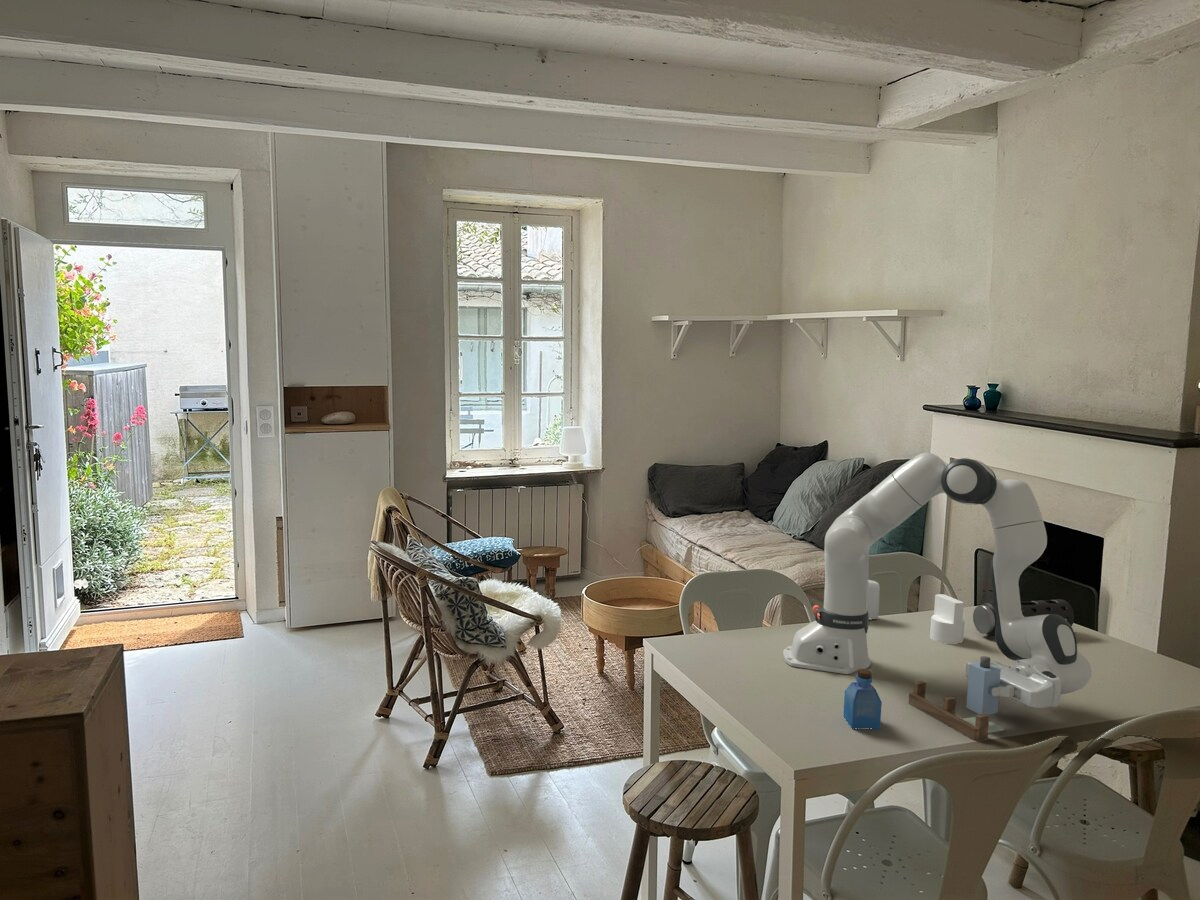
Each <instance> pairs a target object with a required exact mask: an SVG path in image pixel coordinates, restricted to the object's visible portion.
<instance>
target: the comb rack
mask: <svg viewBox="0 0 1200 900" xmlns="http://www.w3.org/2000/svg"><path fill="white" fill-rule="evenodd" d="M926 688H927V682H926V681H923V680H921V681H914V682H913V692H909V693H908V704H909V705H910V706H912V705H913V707H914V708H916V709H918V710H919V711H921V712H923V713H925V714H927V716H928V715H929V716H930V717H931V718H934V719H936V720H937V721H939V722H941V723H942V724H945V725H946V726H948V727H950V728H952V729H953V730H955V731H956V732H958V733H960V734H961V735H964V736H966V737H967V738H969V739H971V740H972V741H979V740H984V739H988V738H989V737H988V735H989V734H993V733H997V732H1002V731H1005V728H1003V727H1001V726H999V725H998V724H996V723H994V722H992V721H990V714H976V715H975V716H972V717H966V718H965V717H964V718H962V717H960V716H958V715H956V706H957V698H956V697H954V696H947V697H943V700H942V701H943V702H942V704H943V705H942V706H939V705H937V704H936V703H933V702H932V701H931V700H928V699H926Z"/></svg>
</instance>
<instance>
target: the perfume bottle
mask: <svg viewBox="0 0 1200 900" xmlns="http://www.w3.org/2000/svg"><path fill="white" fill-rule="evenodd" d="M856 673H857V674H856V675H855V681H856V682H854V681H852V682H851V683H850V684H849V685H848V686H847V688H846V689H845V690H844V697H843V698H844V702H843V713H842V714H843V716H842V717H844V718H845V719H846V720H845V719H844V718H843V719H844V720H845V722H846V721H847V722H848V723H847V722H846V723H847V724H848V726H849V725H850V726H851V727H850V726H849V727H850V729H851V728H852V729H851V730H859V729H858V728H869V729H868V730H880V729H881V722H882V721H881V720H882V719H881V718H882V703H883V701H882V700H881V698H880V696H879V693H878V692H877V689H876V688H875V687H874V686H873V684H872V683H873V676H872V674H873V672H872V670H871V669H868V668H866V669H858V670H857V671H856ZM853 728H854V729H853ZM855 728H857V729H855ZM870 728H872V729H870Z"/></svg>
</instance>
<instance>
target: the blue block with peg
mask: <svg viewBox="0 0 1200 900" xmlns="http://www.w3.org/2000/svg"><path fill="white" fill-rule="evenodd" d="M979 660H980V663H974V664H969V676H968V677H967V691H966V693H967V696H966V709H969V710H970V711H972V712H973V713H976V714H977V715H979V714H987V715H992V714H997V713H998V712H999V700H1000V698H999V697H1000V696H992V695H990V694H989V693H988V691H989V690H988V688H989V686H994V685H995V686H997V687H1000V672H1001V669H1000V668H998V667H995V666H993V665H991V664H990V660H991V657H990V656H985V655H981V656H980V659H979Z"/></svg>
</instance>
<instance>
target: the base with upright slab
mask: <svg viewBox="0 0 1200 900" xmlns="http://www.w3.org/2000/svg"><path fill="white" fill-rule="evenodd" d="M964 606H965V605H964V602H963V601H961V600H959V599H956V598H954V597H951V596H949V595H947V594H945V593H944V594H942V593H941V594H940V593H938V594H934V608H933V609H934V611H933V614H932V615H931V617H930V628H929V629H930V631H929V632H930V633H929V638H930V639H931V640H932V639H933V640H932V641H934V640H935V641H934V642H936V641H938V642H937V643H939V642H942V643H941V644H944V643H948V644H947V645H959V644H958V643H961V644H963V643H962V642H964V636H965V619H964V617H963V616H964Z"/></svg>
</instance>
